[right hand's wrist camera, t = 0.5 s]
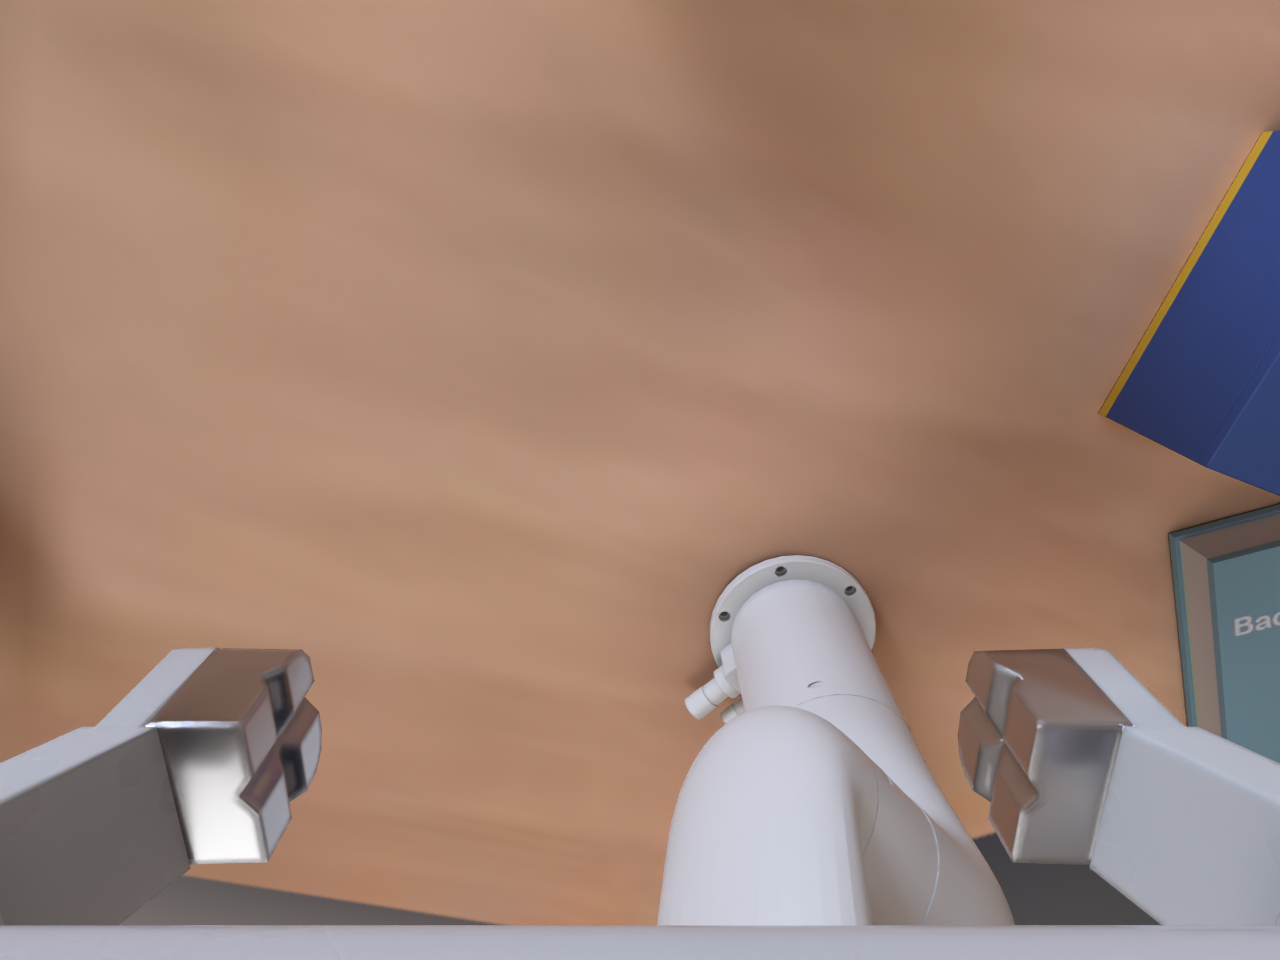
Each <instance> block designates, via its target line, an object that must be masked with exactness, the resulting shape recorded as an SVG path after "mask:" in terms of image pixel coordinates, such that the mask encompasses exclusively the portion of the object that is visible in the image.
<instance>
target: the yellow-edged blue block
mask: <svg viewBox="0 0 1280 960" xmlns="http://www.w3.org/2000/svg"><path fill="white" fill-rule="evenodd" d="M1099 414H1101V415H1103V416H1105V417H1107V418H1109V419H1111V420H1113V421H1115V422H1117V423H1119V424H1121V425H1123V426H1125V427H1127V428H1129V429H1131V430H1133V431H1135V432H1137V433H1139V434H1141V435H1143V436H1145V437H1147V438H1149V439H1151V440H1153V441H1155V442H1157V443H1159V444H1161V445H1163V446H1165V447H1167V448H1169V449H1171V450H1173V451H1175V452H1177V453H1179V454H1181V455H1183V456H1185V457H1187V458H1189V459H1191V460H1193V461H1195V462H1197V463H1199V464H1201V465H1203V466H1205V467H1207V468H1209V469H1212V470H1215V471H1217V472H1220V473H1222V474H1225V475H1227V476H1230V477H1233V478H1235V479H1238V480H1240V481H1243V482H1245V483H1248V484H1251V485H1253V486H1256V487H1258V488H1261V489H1263V490H1266V491H1269V492H1271V493H1274V494H1276V495H1279V496H1280V131H1265V132H1262V134H1261V136H1260V137H1259V139H1258V141H1257V142H1256V144H1255V146H1254V148H1253V149H1252V151H1251V153H1250V154H1249V156H1248V158H1247V160H1246V161H1245V163H1244V165H1243V166H1242V168H1241V170H1240V172H1239V173H1238V175H1237V177H1236V178H1235V180H1234V182H1233V184H1232V185H1231V187H1230V189H1229V190H1228V192H1227V194H1226V196H1225V197H1224V199H1223V201H1222V202H1221V204H1220V206H1219V208H1218V209H1217V211H1216V213H1215V214H1214V216H1213V218H1212V220H1211V221H1210V223H1209V225H1208V226H1207V228H1206V230H1205V232H1204V233H1203V235H1202V237H1201V238H1200V240H1199V242H1198V244H1197V245H1196V247H1195V249H1194V250H1193V252H1192V254H1191V256H1190V257H1189V259H1188V261H1187V262H1186V264H1185V266H1184V268H1183V269H1182V271H1181V273H1180V274H1179V276H1178V278H1177V280H1176V281H1175V283H1174V285H1173V286H1172V288H1171V290H1170V292H1169V293H1168V295H1167V297H1166V298H1165V300H1164V302H1163V304H1162V305H1161V307H1160V309H1159V310H1158V312H1157V314H1156V316H1155V317H1154V319H1153V321H1152V322H1151V324H1150V326H1149V328H1148V329H1147V331H1146V333H1145V334H1144V336H1143V338H1142V340H1141V341H1140V343H1139V345H1138V346H1137V348H1136V350H1135V352H1134V353H1133V355H1132V357H1131V358H1130V360H1129V362H1128V364H1127V365H1126V367H1125V369H1124V370H1123V372H1122V374H1121V376H1120V377H1119V379H1118V381H1117V382H1116V384H1115V386H1114V388H1113V389H1112V391H1111V393H1110V394H1109V396H1108V398H1107V400H1106V401H1105V403H1104V405H1103V406H1102V408H1101V410H1100V412H1099Z"/></svg>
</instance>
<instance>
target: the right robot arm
mask: <svg viewBox="0 0 1280 960" xmlns="http://www.w3.org/2000/svg"><path fill="white" fill-rule="evenodd" d="M313 682H314V677H313V672H312V667H311V662H310V657H309V656H308V655H307V654H306V653H305V652H304V651H303V650H289V649H239V648H223V649H219V648H182V649H177V650H172V651H171V652H170V653H169V654H168V655H167V656H166V657H165V658H164V659H163V660H162V661H161V662H160V663H159V664H158V665H157V666H156V667H155V668H154V669H153V670H152V671H151V672H150V673H149V674H148V675H147V676H146V677H145V678H144V679H143V680H142V681H141V682H140V683H139V684H138V685H137V686H136V687H135V688H134V689H133V690H132V691H131V692H130V693H129V694H128V695H127V696H126V697H125V698H124V699H123V700H122V701H121V702H120V703H119V704H118V705H117V706H116V707H115V708H114V709H113V710H112V711H110V712H109V713H108V714H107V715H106V716H105V717H104V718H103V719H102V720H101V721H100V722H99V723H98V724H97V725H96V726H95V727H80V728H78V729H75V730H73V731H71V732H69V733H66V734H64V735H62V736H60V737H58V738H55V739H53V740H51V741H49V742H46V743H44V744H42V745H40V746H37V747H35V748H33V749H31V750H29V751H26V752H24V753H22V754H20V755H17V756H15V757H13V758H11V759H8V760H6V761H4V762H2V763H0V960H1280V763H1278V762H1276V761H1274V760H1271V759H1269V758H1267V757H1265V756H1262V755H1260V754H1258V753H1256V752H1254V751H1251V750H1249V749H1247V748H1245V747H1242V746H1240V745H1238V744H1236V743H1234V742H1231V741H1229V740H1227V739H1225V738H1222V737H1220V736H1218V735H1216V734H1213V733H1211V732H1209V731H1207V730H1205V729H1202V728H1200V727H1185V726H1184V725H1183V724H1182V723H1181V722H1180V721H1179V720H1178V719H1177V718H1176V717H1175V716H1174V715H1173V714H1172V713H1171V712H1170V711H1169V710H1168V709H1167V708H1166V707H1165V706H1164V705H1163V704H1162V703H1161V702H1160V701H1159V700H1158V699H1157V698H1156V697H1155V696H1154V695H1153V694H1152V693H1151V692H1150V691H1149V690H1148V689H1147V688H1146V687H1145V686H1144V685H1143V684H1142V683H1141V682H1140V681H1139V680H1138V679H1137V678H1136V677H1135V676H1133V675H1132V674H1131V673H1130V672H1129V671H1128V670H1127V669H1126V668H1125V667H1124V666H1123V665H1122V664H1121V663H1120V662H1119V661H1118V660H1117V659H1116V658H1115V657H1114V656H1113V655H1112V654H1111V653H1110V652H1109V651H1107V650H1104V649H1102V648H1099V647H1092V648H1067V649H1035V650H995V651H974V653H973V655H972V657H971V659H970V662H969V665H968V670H967V676H966V682H967V684H968V685H969V687H970V689H971V690H972V692H973V693H974V695H975V698H974V699H973V700H972V701H971V702H970V703H969V704H968V705H967V706H966V707H965V708H964V709H963V710H962V711H961V714H960V722H959V730H958V743H959V753H960V760H961V763H962V766H963V770H964V773H965V776H966V778H967V779H968V781H969V783H970V785H971V787H972V789H973V791H975V792H976V793H978V794H979V795H981V796H982V797H984V798H985V799H987V800H988V801H990V802H991V805H990V811H989V817H988V819H989V820H990V822H991V824H992V826H993V828H994V829H995V831H996V833H997V835H998V837H999V838H1000V840H1001V842H1002V844H1003V846H1004V847H1005V849H1006V851H1007V853H1008V855H1009V856H1010V858H1011V860H1012V862H1022V863H1057V864H1090V869H1092V870H1093V871H1094V872H1095V873H1097V874H1098V875H1099V876H1100V877H1102V878H1103V879H1104V880H1106V881H1107V882H1108V883H1109V884H1110V885H1112V886H1113V887H1114V888H1116V889H1117V890H1118V891H1119V892H1121V893H1122V894H1123V895H1125V896H1126V897H1127V898H1128V899H1130V900H1131V901H1132V902H1133V903H1135V904H1136V905H1137V906H1138V907H1140V908H1141V909H1142V910H1143V911H1145V912H1146V913H1147V914H1149V915H1150V916H1151V917H1152V918H1153V919H1155V920H1156V921H1157V922H1159V923H1160V924H1161V925H119V924H120V923H122V922H123V921H124V920H126V919H127V918H128V917H129V916H131V915H132V914H133V913H134V912H136V911H137V910H138V909H139V908H141V907H142V906H143V905H145V904H146V903H147V902H148V901H150V900H151V899H152V898H153V897H155V896H156V895H157V894H158V893H160V892H161V891H162V890H163V889H165V888H166V887H167V886H169V885H170V884H171V883H172V882H174V881H175V880H176V879H177V878H179V877H180V876H181V875H183V874H184V873H185V872H186V871H188V870H189V869H190V864H222V863H257V862H268V860H269V858H270V857H271V855H272V853H273V851H274V849H275V848H276V846H277V844H278V842H279V840H280V838H281V837H282V835H283V833H284V831H285V829H286V828H287V826H288V824H289V822H290V820H291V819H292V817H291V811H290V805H289V802H290V801H292V800H293V799H295V798H296V797H298V796H299V795H301V794H302V793H304V792H305V791H307V789H308V787H309V785H310V783H311V781H312V779H313V777H314V775H315V773H316V770H317V766H318V762H319V757H320V753H321V748H322V727H321V720H320V713H319V711H318V710H317V709H316V708H315V707H314V706H313V705H312V704H311V703H310V702H309V701H308V700H307V699H306V698H305V695H306V693H307V692H308V690H309V689H310V687H311V685H312V684H313Z"/></svg>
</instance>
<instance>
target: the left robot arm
mask: <svg viewBox="0 0 1280 960" xmlns="http://www.w3.org/2000/svg"><path fill="white" fill-rule="evenodd" d="M778 567H782V568H781V569H777V568H778ZM849 586H850V588H847V587H849ZM722 612H726V613H722ZM875 637H876V620H875V613H874V610H873V607H872V605H871V602H870V600H869V597H868V596H867V594H866V592H865V591H864V589H863V587H862V586H861V585H860V584H859V582H858V581H857V580H856V579H855V578H854V577H853V576H852V575H851V574H850V573H848V572H847V571H846V570H844V569H843V568H842V567H840V566H838V565H836V564H834V563H832V562H830V561H827V560H824V559H820V558H817V557H812V556H802V555H792V556H781V557H777V558H773V559H769V560H765V561H763V562H761V563H758V564H756V565H754V566H752V567H750V568H748V569H747V570H745V571H744V572H742V573H741V574H739V575H738V576H737V577H736V578H735V579H734V580H733V581H732V582H731V583H730V584H729V585H728V586H727V587H726V588H725V590H724V591H723V592H722V594H721V595H720V597H719V598H718V600H717V603H716V605H715V607H714V609H713V612H712V617H711V621H710V642H711V649H712V653H713V656H714V659H715V661H716V664H717V666H718V667H719V668H718V669H716V670H715V671H714V678H713V679H712V680H711V681H709V682H708V683H707V684H705V685H703V686H701V687H700V688H699V689H698V690H696V691H695V692H694V693H692V694H691V695H690V696H689V697H687V698H686V699H685V704H686V707H687V709H688V710H689V712H690V713H691V714H692V715H693V716H694V717H695V718H696V719H698V720H700V719H702V718H703V717H705V716H706V715H707V714H709V713H710V712H711V711H713V710H714V709H715V708H716V707H718V704H720V703H721V702H722V701H724V700H725V699H726V698H727V697H730V698H733V699H734V698H736V697H737V696H738V695H740V694H741V696H742V698H741V699H739V700H738V701H737V702H736V703H733V704H731V705H730V706H729V707H728V708H726V709H725V710H724V711H722V712H721V714H720V715H721V718H722V719H723V721H724V723H725V725H724V726H722V727H721V728H720V729H719V730H718V731H717V732H716V733H715V734H714V735H713V736H712V737H711V738H710V739H709V740H708V742H707V743H706V744H705V745H704V747H703V748H702V750H701V751H700V753H699V754H698V756H697V757H696V759H695V760H694V762H693V764H692V766H691V768H690V770H689V772H688V774H687V776H686V778H685V781H684V783H683V786H682V788H681V791H680V794H679V797H678V800H677V803H676V807H675V811H674V814H673V819H672V823H671V828H670V834H669V839H668V846H667V853H666V860H665V867H664V875H663V883H662V891H661V899H660V907H659V915H658V923H657V925H1015V924H1014V920H1013V917H1012V914H1011V911H1010V908H1009V906H1008V903H1007V900H1006V898H1005V896H1004V894H1003V892H1002V889H1001V887H1000V885H999V883H998V882H997V880H996V878H995V876H994V874H993V872H992V871H991V869H990V867H989V865H988V864H987V862H986V861H985V859H984V857H983V856H982V854H981V853H980V851H979V849H978V848H977V846H976V845H975V843H974V841H973V840H972V838H971V837H970V835H969V834H968V832H967V831H966V829H965V827H964V826H963V824H962V823H961V821H960V820H959V818H958V816H957V815H956V813H955V812H954V810H953V809H952V807H951V805H950V804H949V802H948V801H947V799H946V797H945V796H944V794H943V792H942V791H941V789H940V787H939V785H938V784H937V782H936V780H935V778H934V777H933V775H932V773H931V771H930V769H929V767H928V766H927V764H926V762H925V760H924V758H923V756H922V754H921V752H920V750H919V748H918V746H917V744H916V742H915V740H914V738H913V736H912V734H911V731H910V728H909V726H908V724H907V722H906V720H905V718H904V716H903V714H902V712H901V710H900V708H899V706H898V704H897V702H896V700H895V698H894V696H893V694H892V692H891V690H890V688H889V686H888V684H887V682H886V680H885V678H884V676H883V673H882V671H881V669H880V667H879V665H878V663H877V661H876V659H875V657H874V655H873V653H872V649H873V645H874V642H875Z"/></svg>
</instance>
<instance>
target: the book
mask: <svg viewBox="0 0 1280 960" xmlns="http://www.w3.org/2000/svg"><path fill="white" fill-rule="evenodd" d="M1169 541H1170V551H1171V561H1172V571H1173V581H1174V591H1175V601H1176V611H1177V621H1178V631H1179V641H1180V651H1181V661H1182V671H1183V681H1184V691H1185V701H1186V711H1187V721H1188V727H1200V728H1202V729H1205V730H1207V731H1209V732H1211V733H1213V734H1216V735H1218V736H1220V737H1222V738H1225V739H1227V740H1229V741H1231V742H1234V743H1236V744H1238V745H1240V746H1242V747H1245V748H1247V749H1249V750H1251V751H1254V752H1256V753H1258V754H1260V755H1262V756H1265V757H1267V758H1269V759H1271V760H1274V761H1276V762H1278V763H1280V504H1279V505H1275V506H1271V507H1267V508H1264V509H1260V510H1256V511H1252V512H1249V513H1245V514H1241V515H1237V516H1234V517H1230V518H1226V519H1222V520H1219V521H1215V522H1211V523H1207V524H1204V525H1200V526H1196V527H1192V528H1189V529H1185V530H1181V531H1178V532H1174V533H1170V534H1169Z"/></svg>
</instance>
